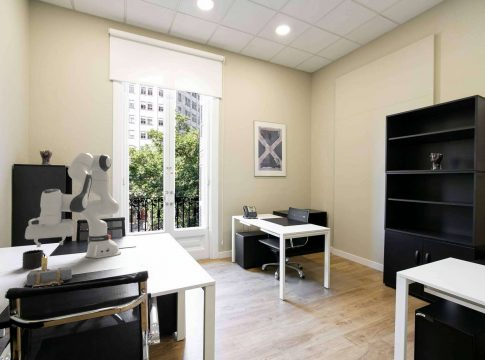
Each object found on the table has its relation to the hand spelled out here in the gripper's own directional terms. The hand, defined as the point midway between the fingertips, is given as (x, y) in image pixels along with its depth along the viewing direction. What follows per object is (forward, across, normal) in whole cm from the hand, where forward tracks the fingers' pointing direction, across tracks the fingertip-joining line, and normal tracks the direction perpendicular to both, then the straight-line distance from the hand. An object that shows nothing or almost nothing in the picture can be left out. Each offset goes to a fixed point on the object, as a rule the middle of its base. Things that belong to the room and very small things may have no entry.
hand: (50, 245), depth 131 cm
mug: (+19, +10, -29) cm, 37 cm away
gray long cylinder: (+17, -1, +5) cm, 18 cm away
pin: (+19, +4, -17) cm, 26 cm away
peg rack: (+18, 0, +5) cm, 19 cm away
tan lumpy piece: (+18, +5, -4) cm, 19 cm away
